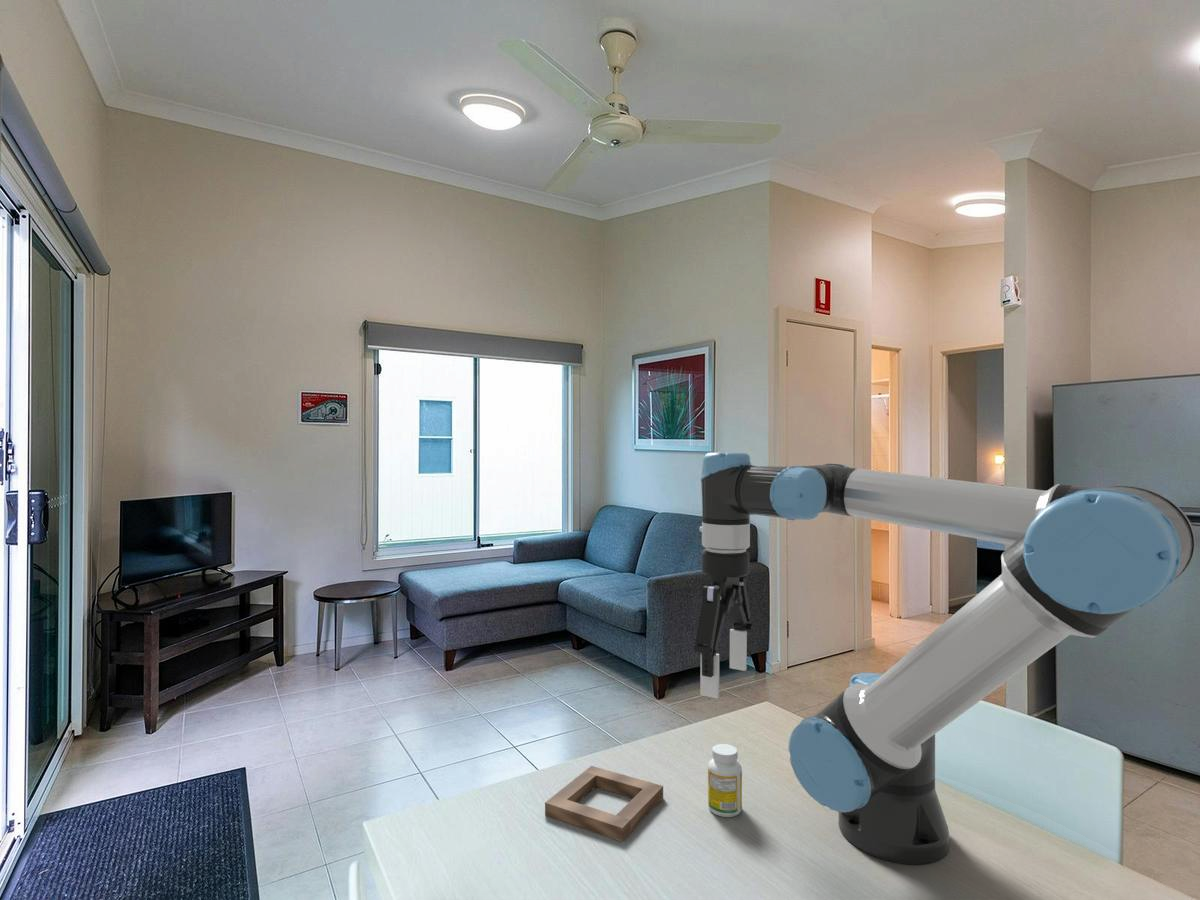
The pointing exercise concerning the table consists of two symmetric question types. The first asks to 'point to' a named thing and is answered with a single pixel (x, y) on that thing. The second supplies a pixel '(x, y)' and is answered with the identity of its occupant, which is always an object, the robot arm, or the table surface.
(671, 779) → the table surface
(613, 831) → the holder frame
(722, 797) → the supplement bottle
